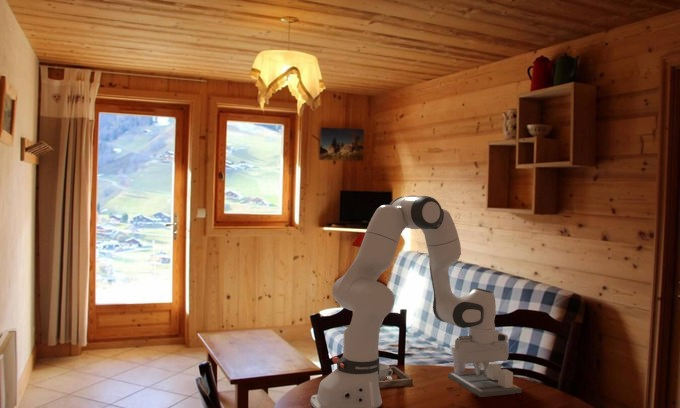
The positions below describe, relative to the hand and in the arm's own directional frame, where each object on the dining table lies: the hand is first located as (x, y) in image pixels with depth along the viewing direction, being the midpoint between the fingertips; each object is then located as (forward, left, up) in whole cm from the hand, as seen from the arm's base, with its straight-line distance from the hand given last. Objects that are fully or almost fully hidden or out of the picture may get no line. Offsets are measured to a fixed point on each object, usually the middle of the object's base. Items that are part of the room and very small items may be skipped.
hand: (480, 374), depth 192 cm
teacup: (-32, +15, -4) cm, 36 cm away
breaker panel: (+1, 0, -4) cm, 4 cm away
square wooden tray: (-31, +14, -4) cm, 34 cm away
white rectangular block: (+6, 0, -2) cm, 6 cm away
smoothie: (0, +15, -4) cm, 15 cm away
